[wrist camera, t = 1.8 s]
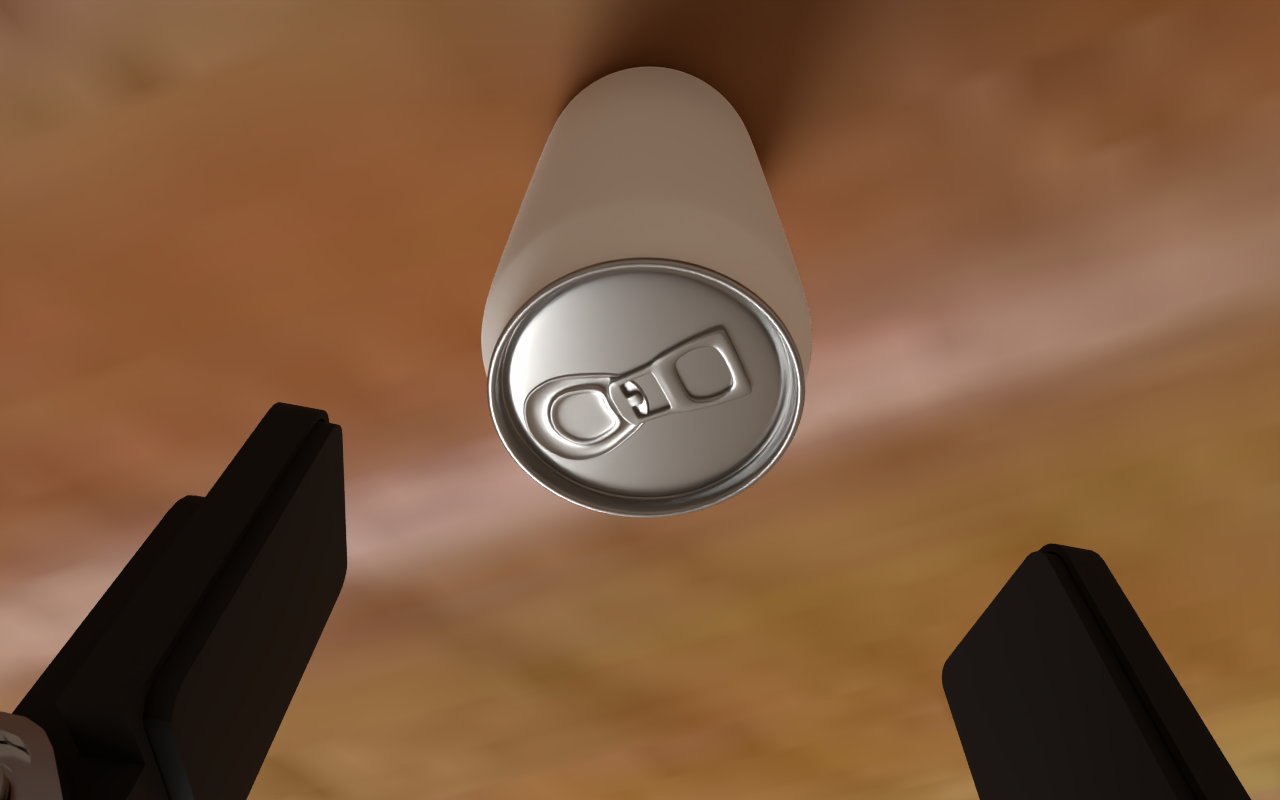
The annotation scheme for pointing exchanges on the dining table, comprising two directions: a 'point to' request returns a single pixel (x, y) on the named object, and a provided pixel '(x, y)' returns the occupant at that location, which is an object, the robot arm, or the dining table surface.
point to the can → (647, 306)
